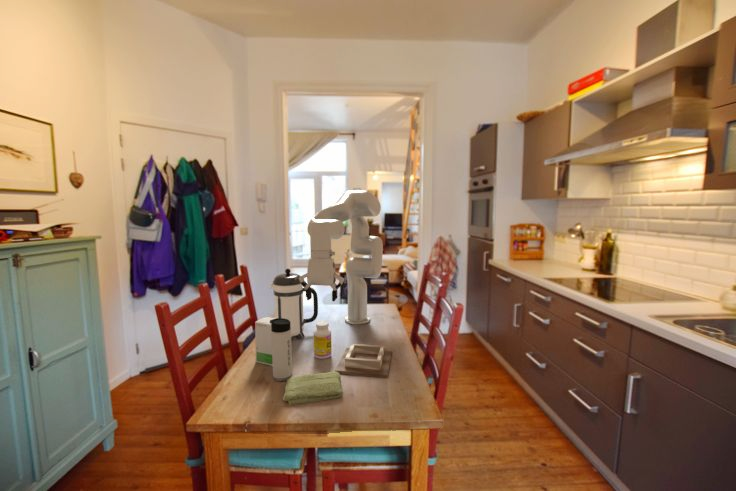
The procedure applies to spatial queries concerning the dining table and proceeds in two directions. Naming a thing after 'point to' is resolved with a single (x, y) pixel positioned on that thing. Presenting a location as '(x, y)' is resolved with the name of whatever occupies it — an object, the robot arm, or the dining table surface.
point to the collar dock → (365, 361)
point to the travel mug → (281, 349)
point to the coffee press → (292, 301)
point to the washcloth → (313, 388)
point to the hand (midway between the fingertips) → (321, 299)
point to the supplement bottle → (322, 340)
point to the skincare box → (263, 341)
